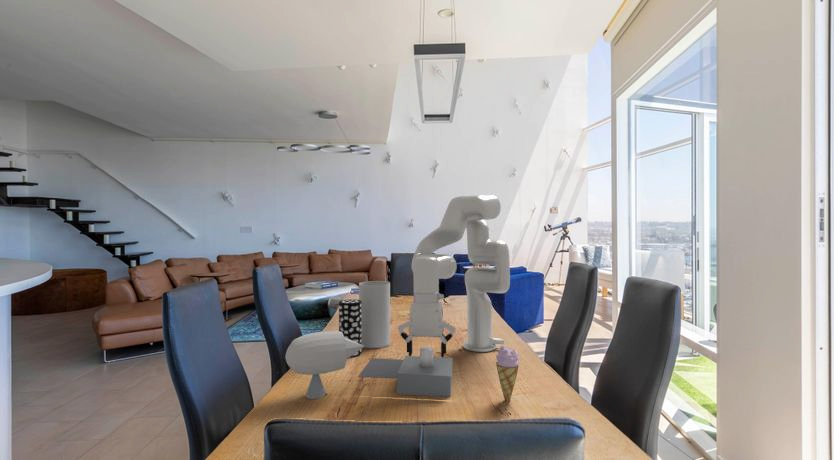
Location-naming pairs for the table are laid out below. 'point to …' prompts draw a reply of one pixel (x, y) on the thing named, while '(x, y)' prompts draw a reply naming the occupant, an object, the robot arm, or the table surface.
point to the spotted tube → (351, 321)
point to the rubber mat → (382, 368)
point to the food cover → (425, 374)
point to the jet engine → (320, 357)
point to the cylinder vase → (375, 313)
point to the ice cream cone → (507, 370)
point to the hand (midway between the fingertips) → (426, 355)
